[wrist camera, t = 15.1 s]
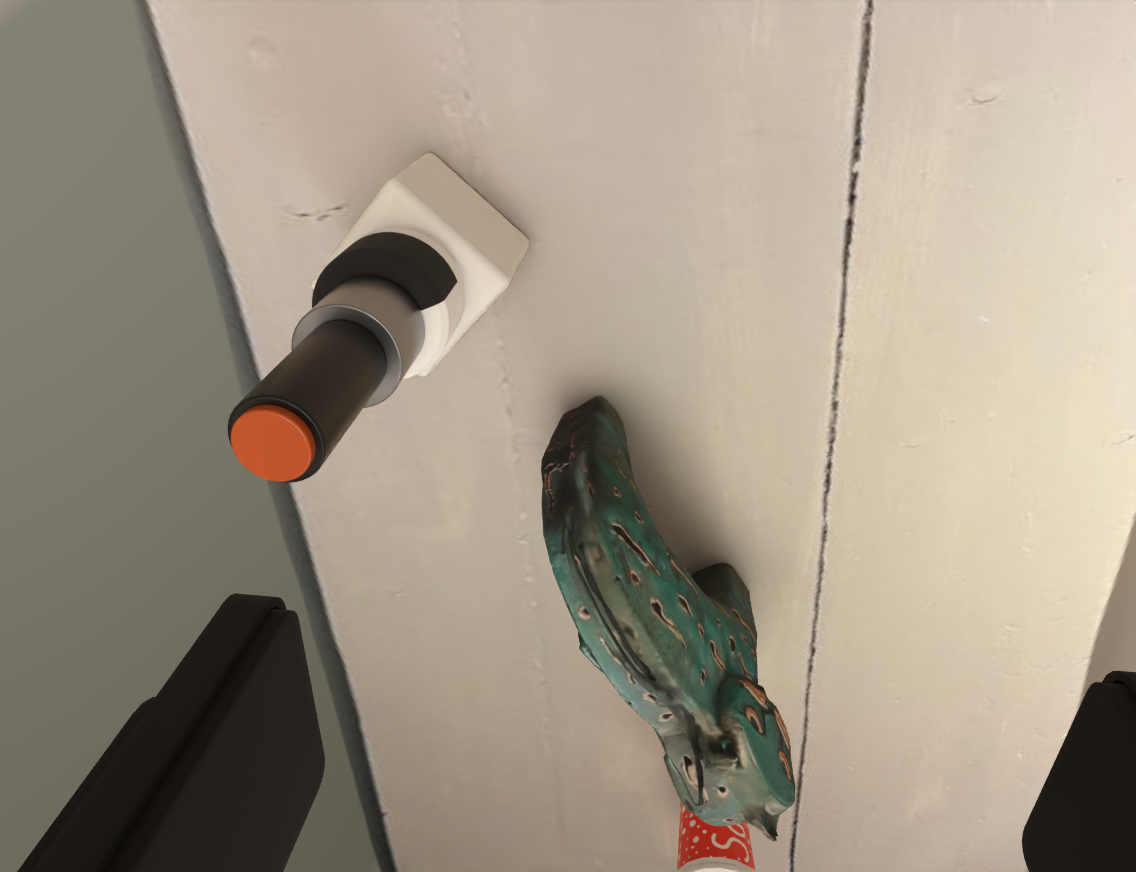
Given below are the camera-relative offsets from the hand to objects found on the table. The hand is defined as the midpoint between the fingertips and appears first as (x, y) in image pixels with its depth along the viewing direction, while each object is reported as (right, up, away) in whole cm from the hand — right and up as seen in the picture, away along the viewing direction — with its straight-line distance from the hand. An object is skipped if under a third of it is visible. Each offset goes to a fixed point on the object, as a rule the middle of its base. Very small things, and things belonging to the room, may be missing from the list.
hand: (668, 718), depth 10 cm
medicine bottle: (-8, +14, +35) cm, 39 cm away
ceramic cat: (+5, -2, +42) cm, 43 cm away
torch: (-9, +8, +25) cm, 28 cm away
